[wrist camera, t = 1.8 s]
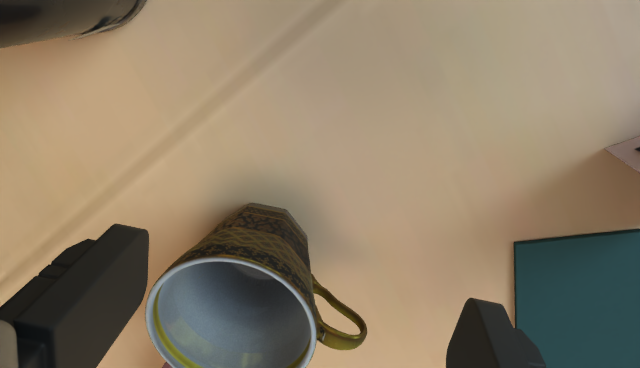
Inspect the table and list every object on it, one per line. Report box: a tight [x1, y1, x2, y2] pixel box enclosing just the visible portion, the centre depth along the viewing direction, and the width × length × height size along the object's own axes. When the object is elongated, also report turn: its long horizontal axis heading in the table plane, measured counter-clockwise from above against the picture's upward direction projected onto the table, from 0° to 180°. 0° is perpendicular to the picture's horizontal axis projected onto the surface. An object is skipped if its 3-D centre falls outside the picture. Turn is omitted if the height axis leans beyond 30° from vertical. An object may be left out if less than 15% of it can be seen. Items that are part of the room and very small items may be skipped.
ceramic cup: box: [145, 203, 367, 368], centre depth 30 cm, size 13×10×10 cm
